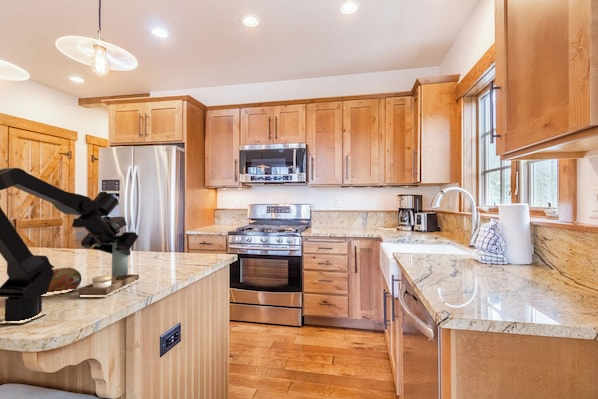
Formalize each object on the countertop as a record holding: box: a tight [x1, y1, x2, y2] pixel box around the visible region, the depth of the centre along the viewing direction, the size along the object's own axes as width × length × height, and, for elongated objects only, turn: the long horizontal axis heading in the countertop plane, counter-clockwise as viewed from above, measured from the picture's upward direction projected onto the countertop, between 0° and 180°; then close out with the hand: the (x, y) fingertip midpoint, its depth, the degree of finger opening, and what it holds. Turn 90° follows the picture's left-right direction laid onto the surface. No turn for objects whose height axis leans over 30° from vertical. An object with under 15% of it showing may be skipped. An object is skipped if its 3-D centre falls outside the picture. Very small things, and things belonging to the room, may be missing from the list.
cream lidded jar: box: [92, 275, 112, 288], centre depth 93 cm, size 5×5×5 cm
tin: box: [24, 267, 82, 292], centre depth 92 cm, size 15×3×8 cm, turn 129°
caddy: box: [78, 273, 140, 296], centre depth 97 cm, size 18×9×3 cm, turn 179°
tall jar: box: [111, 234, 129, 276], centre depth 102 cm, size 5×5×14 cm
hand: (123, 254), depth 103 cm, fingers closed on tall jar, 5 cm apart
